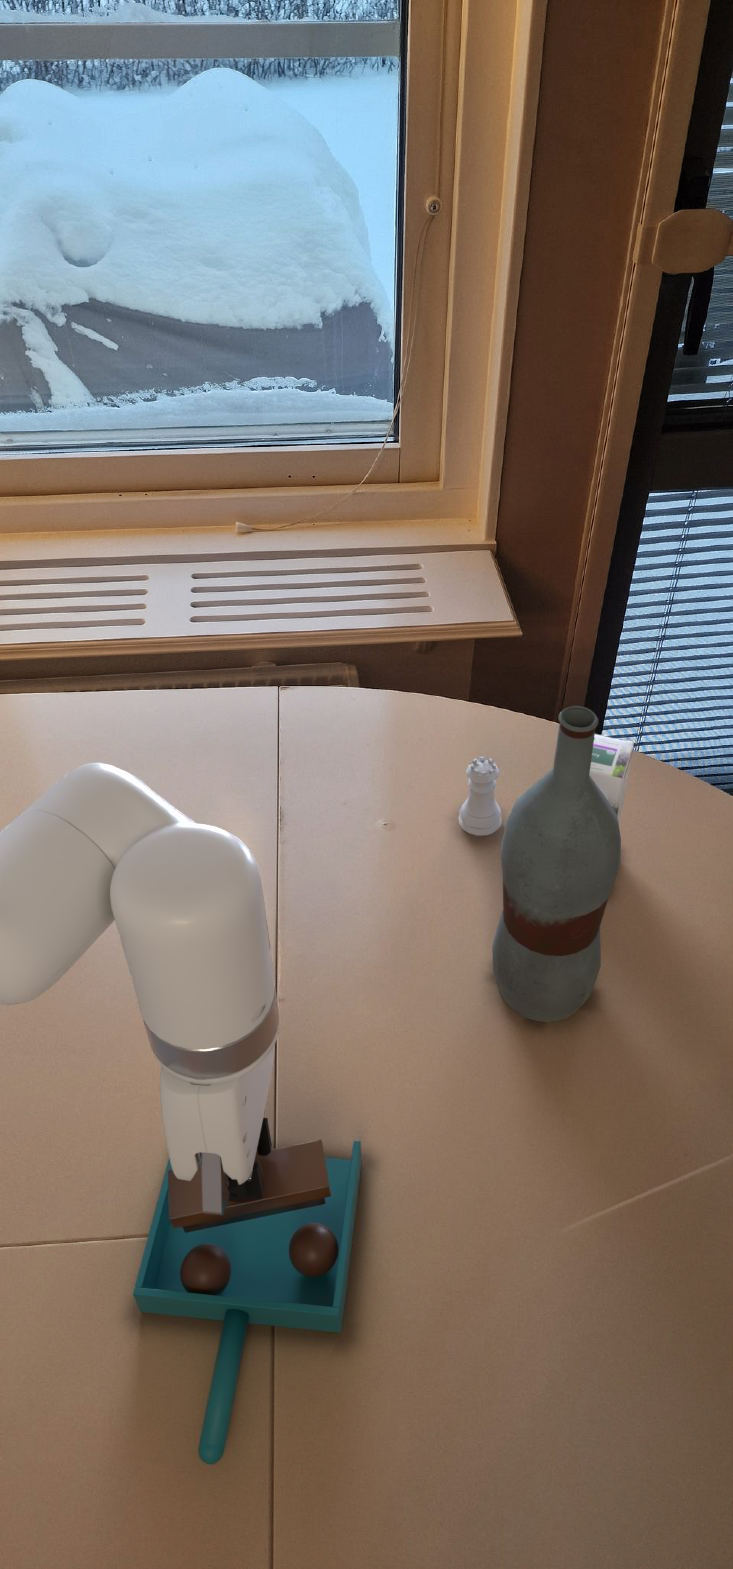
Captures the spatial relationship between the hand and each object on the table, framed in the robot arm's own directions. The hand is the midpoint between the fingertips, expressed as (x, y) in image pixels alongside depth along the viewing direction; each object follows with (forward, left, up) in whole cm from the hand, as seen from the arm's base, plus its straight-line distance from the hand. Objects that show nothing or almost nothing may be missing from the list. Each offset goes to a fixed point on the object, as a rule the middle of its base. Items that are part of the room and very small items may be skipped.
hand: (244, 1169), depth 71 cm
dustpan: (0, -5, -8) cm, 9 cm away
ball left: (-2, -5, -6) cm, 8 cm away
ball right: (+5, -2, -6) cm, 8 cm away
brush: (0, 0, -4) cm, 4 cm away
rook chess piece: (+15, +43, -8) cm, 47 cm away
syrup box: (+25, +38, -8) cm, 47 cm away
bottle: (+21, +23, -8) cm, 33 cm away
